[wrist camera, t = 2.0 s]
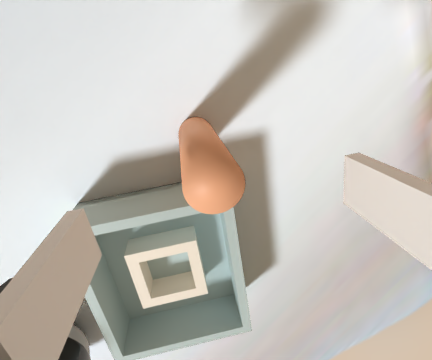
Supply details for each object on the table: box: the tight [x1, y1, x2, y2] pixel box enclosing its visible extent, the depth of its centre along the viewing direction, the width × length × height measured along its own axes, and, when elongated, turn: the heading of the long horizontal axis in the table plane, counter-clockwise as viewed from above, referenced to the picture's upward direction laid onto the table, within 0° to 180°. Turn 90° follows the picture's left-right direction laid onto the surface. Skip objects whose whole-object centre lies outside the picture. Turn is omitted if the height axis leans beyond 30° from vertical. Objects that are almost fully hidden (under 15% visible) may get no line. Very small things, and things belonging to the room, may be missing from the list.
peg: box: [179, 117, 245, 214], centre depth 21 cm, size 4×4×14 cm
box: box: [73, 182, 252, 360], centre depth 30 cm, size 18×16×6 cm
